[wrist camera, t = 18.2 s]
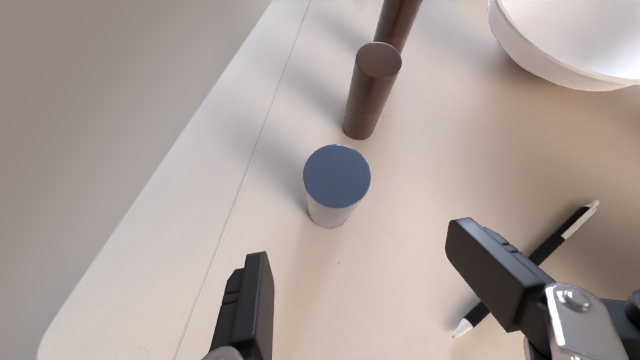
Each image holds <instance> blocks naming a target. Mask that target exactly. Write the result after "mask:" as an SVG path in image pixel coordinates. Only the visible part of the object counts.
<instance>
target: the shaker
mask: <svg viewBox="0 0 640 360" xmlns="http://www.w3.org/2000/svg"><path fill="white" fill-rule="evenodd" d="M303 181H304V188H305V195H306V201H307V208H308V213H309V216H310V218H311V219H312V221H313V222H314V223H315V224H317V225H318V226H320V227H322V228H326V229H333V228H337V227H339V226H341V225H343V224H344V223H345V222H346V221H347V219H348V218H349V217H350V215H351V214H352V212H353V211H354V210H355V208H356V207H357V205H358V204H359V203H360V201H361V200H362V199H363V197H364V196H365V194H366V193H367V191H368V189H369V186H370V181H371V174H370V169H369V166H368V164H367V162H366V160H365V159H364V158H363V156H362V155H361V154H360V153H359V152H357V151H356V150H354V149H352V148H350V147H348V146H344V145H336V144H335V145H328V146H324V147H322V148H320V149H318V150H317V151H315V152H314V153H313V154H312V155H311V156H310V157H309V158H308V160H307V162H306V164H305V167H304V171H303Z"/></svg>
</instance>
